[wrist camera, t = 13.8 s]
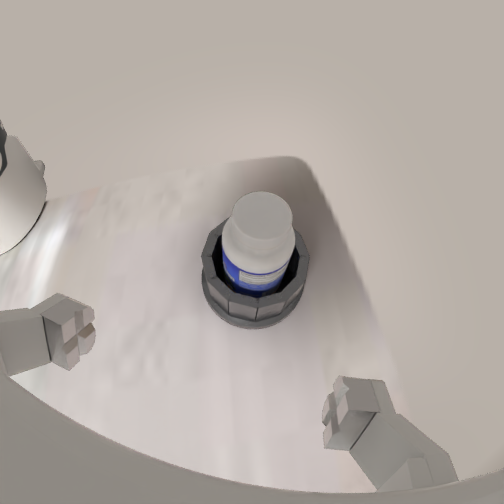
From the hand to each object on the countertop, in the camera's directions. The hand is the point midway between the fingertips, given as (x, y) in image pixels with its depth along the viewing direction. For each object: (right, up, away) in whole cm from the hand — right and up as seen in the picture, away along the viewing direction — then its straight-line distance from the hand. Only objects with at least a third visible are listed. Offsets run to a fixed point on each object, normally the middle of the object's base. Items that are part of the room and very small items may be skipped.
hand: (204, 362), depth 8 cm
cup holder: (+1, +1, +20) cm, 20 cm away
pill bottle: (+2, +1, +19) cm, 19 cm away
